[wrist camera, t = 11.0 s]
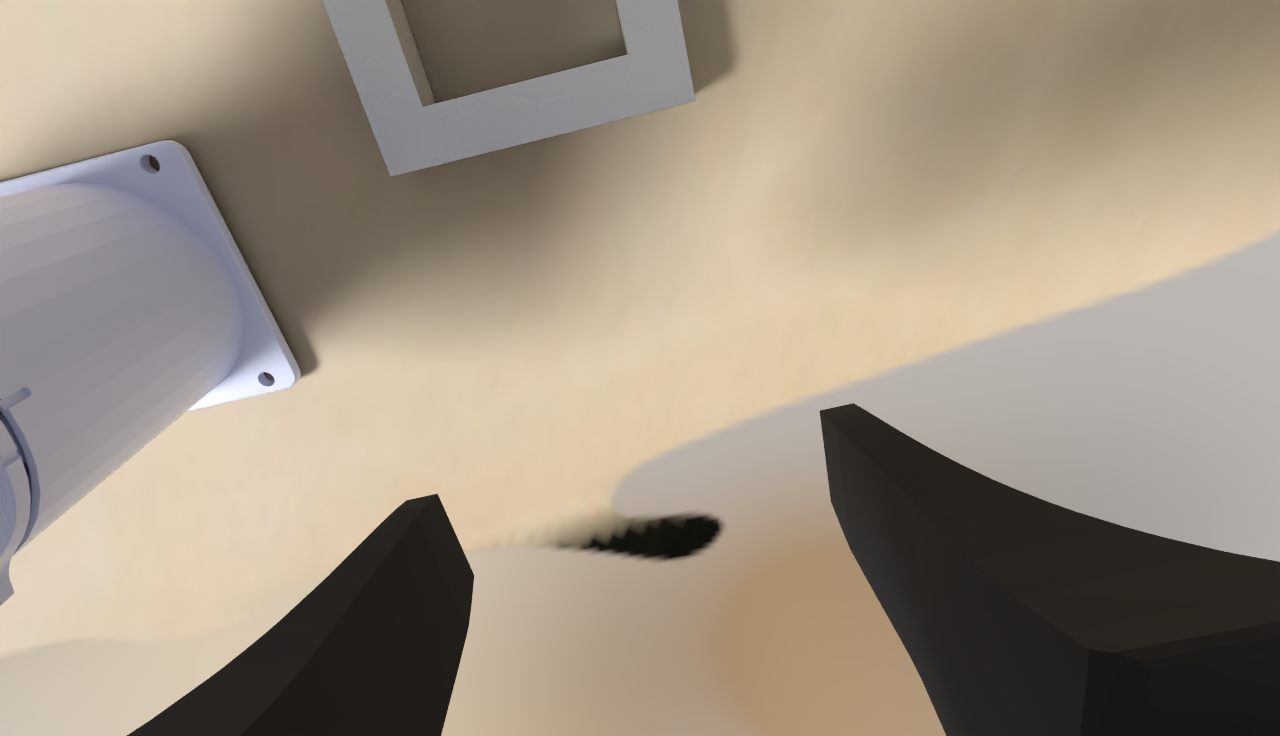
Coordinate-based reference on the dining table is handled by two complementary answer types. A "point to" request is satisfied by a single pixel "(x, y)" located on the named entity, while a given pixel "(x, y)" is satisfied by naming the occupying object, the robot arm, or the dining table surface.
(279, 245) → the dining table surface
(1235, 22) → the dining table surface
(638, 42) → the socket collar
